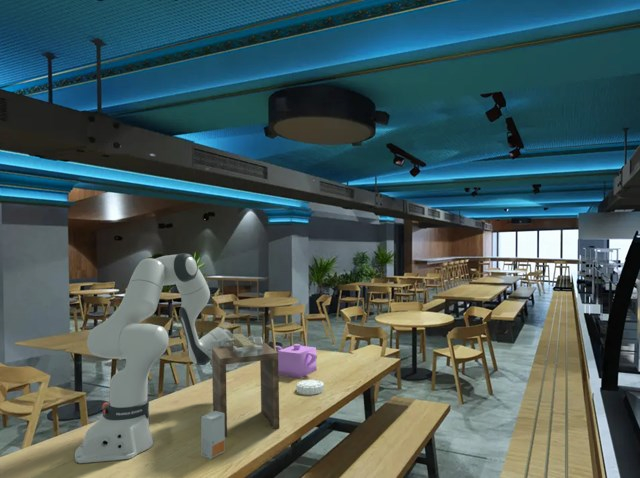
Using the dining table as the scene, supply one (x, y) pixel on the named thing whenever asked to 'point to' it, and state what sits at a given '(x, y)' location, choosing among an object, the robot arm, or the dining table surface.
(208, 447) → the skincare box
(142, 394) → the robot arm
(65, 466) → the dining table surface
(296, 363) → the teapot
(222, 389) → the stand
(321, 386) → the mooncake
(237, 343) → the bar
